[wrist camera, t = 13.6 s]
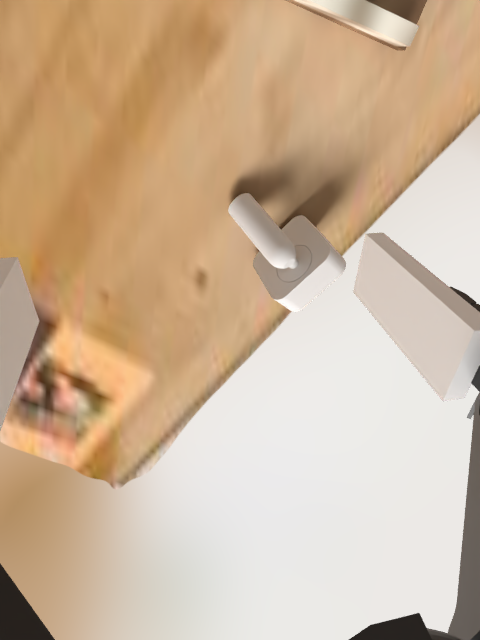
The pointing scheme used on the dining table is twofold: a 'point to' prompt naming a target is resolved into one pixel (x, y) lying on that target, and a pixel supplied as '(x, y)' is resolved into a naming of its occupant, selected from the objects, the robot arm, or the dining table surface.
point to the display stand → (372, 17)
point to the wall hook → (288, 254)
